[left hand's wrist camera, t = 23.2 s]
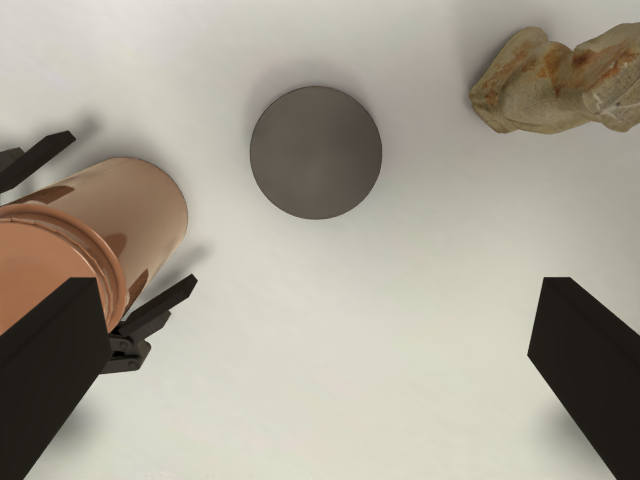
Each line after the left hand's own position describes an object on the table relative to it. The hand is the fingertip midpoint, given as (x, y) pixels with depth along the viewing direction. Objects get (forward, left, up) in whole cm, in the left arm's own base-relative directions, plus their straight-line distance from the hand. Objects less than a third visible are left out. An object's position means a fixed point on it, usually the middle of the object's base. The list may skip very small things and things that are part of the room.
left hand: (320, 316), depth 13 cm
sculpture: (-14, -7, -25) cm, 30 cm away
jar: (+16, +6, -25) cm, 31 cm away
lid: (0, 0, -24) cm, 24 cm away
